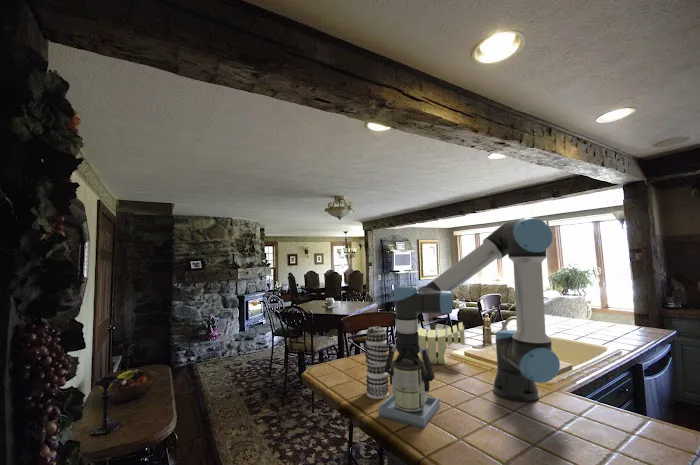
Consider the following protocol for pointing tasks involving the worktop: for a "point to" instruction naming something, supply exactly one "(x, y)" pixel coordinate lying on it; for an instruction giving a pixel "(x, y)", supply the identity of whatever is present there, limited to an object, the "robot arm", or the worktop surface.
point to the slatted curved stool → (439, 342)
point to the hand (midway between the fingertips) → (409, 397)
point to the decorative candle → (376, 363)
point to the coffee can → (408, 385)
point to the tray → (412, 418)
